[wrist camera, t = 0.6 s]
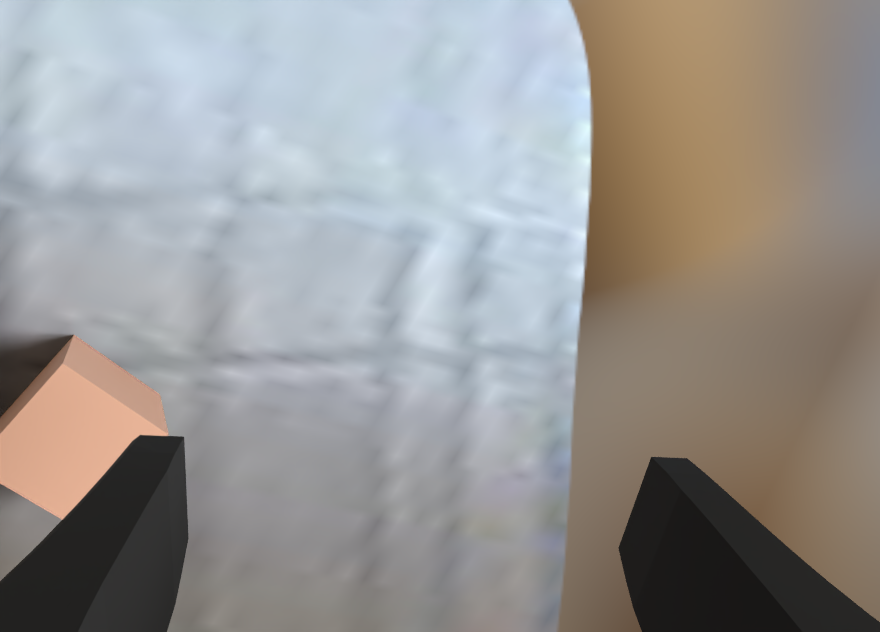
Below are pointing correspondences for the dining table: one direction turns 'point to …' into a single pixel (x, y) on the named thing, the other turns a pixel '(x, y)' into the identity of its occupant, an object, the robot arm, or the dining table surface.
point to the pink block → (73, 427)
